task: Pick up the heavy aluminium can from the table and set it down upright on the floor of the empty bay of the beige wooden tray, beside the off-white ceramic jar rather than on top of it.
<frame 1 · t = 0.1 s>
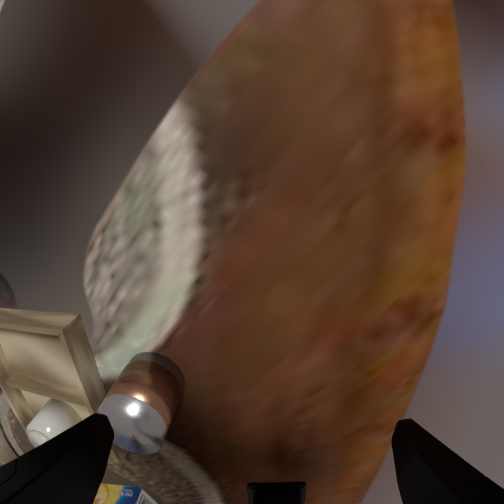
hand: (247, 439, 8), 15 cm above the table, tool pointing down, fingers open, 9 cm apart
blue food box: (124, 496, 33), on the table
beige wooden tray: (53, 381, 27), on the table
can: (155, 376, 25), on the table
jar: (64, 414, 28), point 1 cm above the table, touching beige wooden tray
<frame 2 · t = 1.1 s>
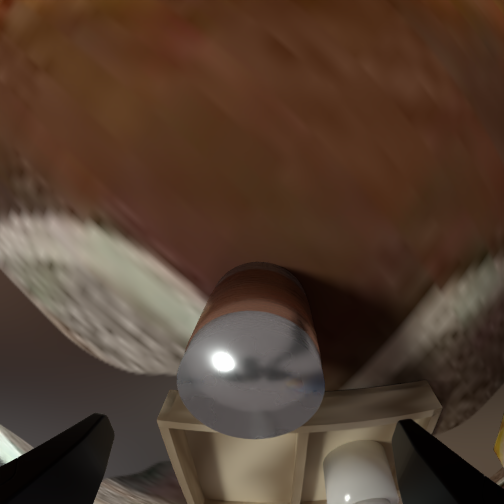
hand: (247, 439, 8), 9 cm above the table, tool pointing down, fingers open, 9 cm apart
beige wooden tray: (297, 458, 20), on the table
can: (259, 308, 17), on the table
jar: (354, 459, 20), point 1 cm above the table, touching beige wooden tray
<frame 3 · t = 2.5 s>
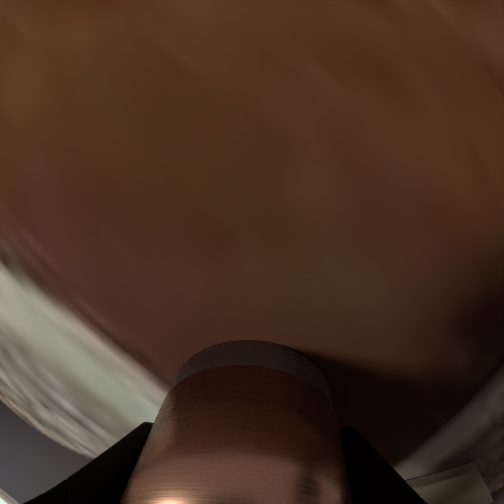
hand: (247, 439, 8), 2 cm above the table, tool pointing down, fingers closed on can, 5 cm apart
can: (251, 406, 10), on the table, touching gripper
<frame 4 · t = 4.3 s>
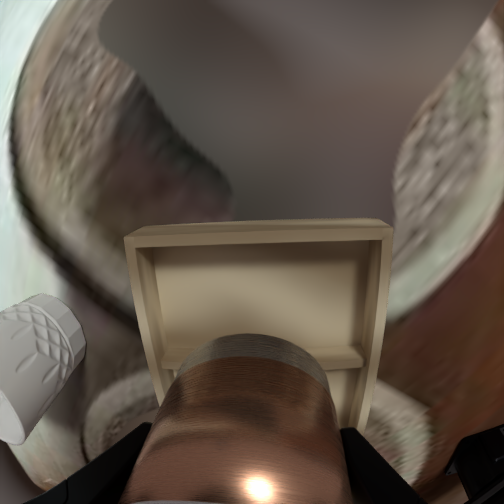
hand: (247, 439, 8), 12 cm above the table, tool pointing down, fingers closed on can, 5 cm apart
white cup: (55, 329, 22), on the table
beige wooden tray: (263, 348, 21), on the table
can: (251, 398, 10), point 10 cm above the table, touching gripper
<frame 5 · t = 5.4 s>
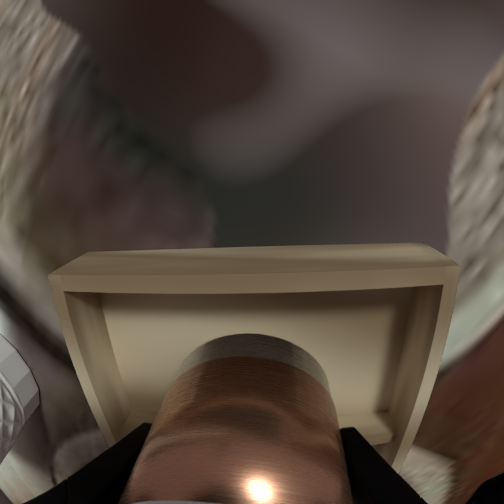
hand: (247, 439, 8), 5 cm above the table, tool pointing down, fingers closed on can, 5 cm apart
white cup: (6, 368, 16), on the table
beige wooden tray: (257, 414, 14), on the table
can: (251, 398, 10), point 3 cm above the table, touching gripper
when the fingers open (4 cm above the table, at t = 6.1 s): can drops 1 cm, resting on beige wooden tray.
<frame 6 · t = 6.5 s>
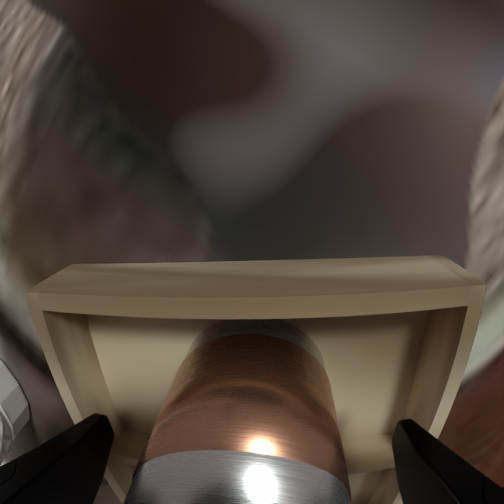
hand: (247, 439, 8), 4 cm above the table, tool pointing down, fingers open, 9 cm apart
beige wooden tray: (258, 437, 13), on the table
can: (254, 376, 11), point 1 cm above the table, touching beige wooden tray
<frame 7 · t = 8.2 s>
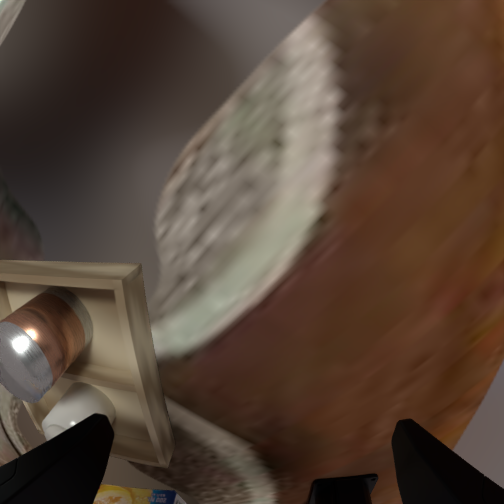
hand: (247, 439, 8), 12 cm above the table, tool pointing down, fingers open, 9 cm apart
blue food box: (149, 500, 29), on the table
beige wooden tray: (81, 360, 22), on the table
can: (64, 318, 21), point 1 cm above the table, touching beige wooden tray
jar: (91, 403, 23), point 1 cm above the table, touching beige wooden tray
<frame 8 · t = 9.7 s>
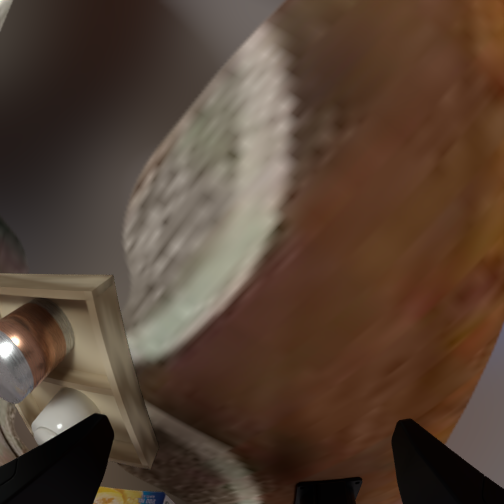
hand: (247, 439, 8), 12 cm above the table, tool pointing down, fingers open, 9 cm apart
blue food box: (141, 502, 29), on the table
beige wooden tray: (67, 367, 23), on the table
can: (49, 327, 21), point 1 cm above the table, touching beige wooden tray
jar: (79, 407, 24), point 1 cm above the table, touching beige wooden tray
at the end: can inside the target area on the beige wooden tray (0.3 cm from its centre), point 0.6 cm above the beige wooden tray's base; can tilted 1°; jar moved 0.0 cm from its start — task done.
